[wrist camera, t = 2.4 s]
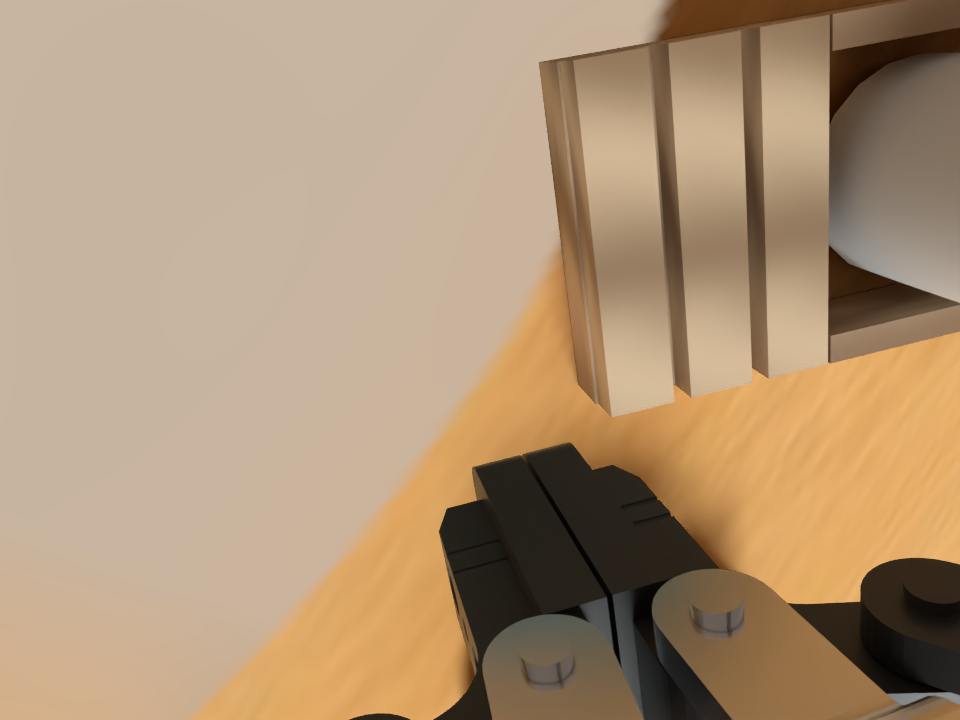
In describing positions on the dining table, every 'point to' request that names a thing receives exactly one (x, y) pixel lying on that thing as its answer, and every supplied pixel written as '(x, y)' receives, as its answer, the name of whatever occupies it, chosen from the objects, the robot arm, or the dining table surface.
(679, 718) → the robot arm
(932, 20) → the pallet
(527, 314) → the dining table surface
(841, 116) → the can
